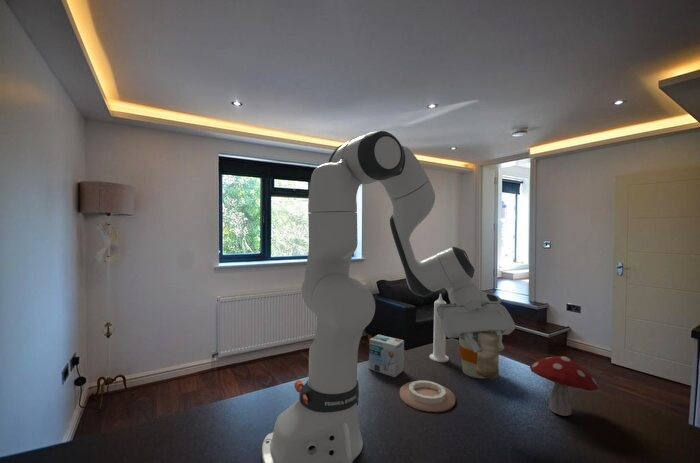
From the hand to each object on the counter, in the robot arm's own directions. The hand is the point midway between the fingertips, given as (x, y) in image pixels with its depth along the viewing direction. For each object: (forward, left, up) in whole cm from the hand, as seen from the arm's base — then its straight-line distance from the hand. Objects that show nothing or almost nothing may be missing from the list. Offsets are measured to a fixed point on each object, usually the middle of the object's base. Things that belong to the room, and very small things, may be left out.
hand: (489, 350), depth 81 cm
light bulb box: (-10, +37, -19) cm, 42 cm away
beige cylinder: (0, +1, -6) cm, 6 cm away
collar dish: (-7, +17, -19) cm, 26 cm away
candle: (+14, +39, -19) cm, 45 cm away
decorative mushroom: (+24, -2, -19) cm, 31 cm away
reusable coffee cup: (+19, +25, -19) cm, 37 cm away
